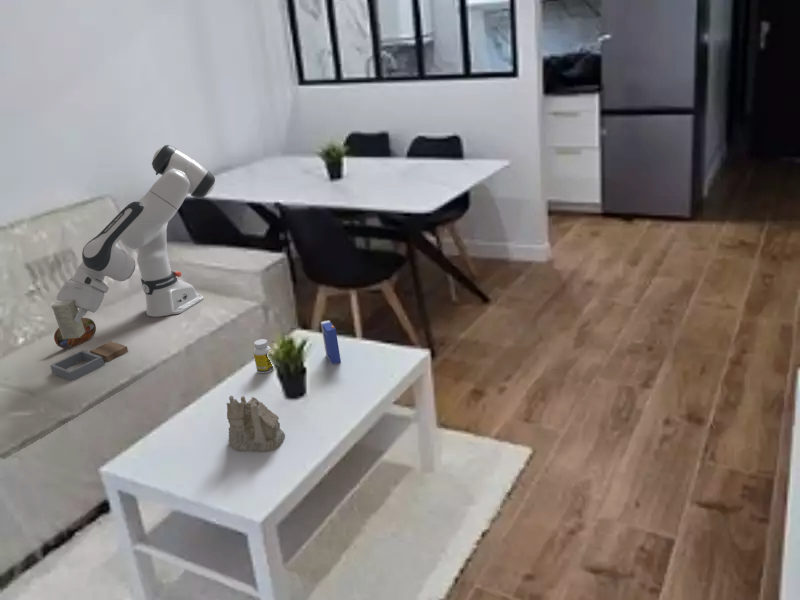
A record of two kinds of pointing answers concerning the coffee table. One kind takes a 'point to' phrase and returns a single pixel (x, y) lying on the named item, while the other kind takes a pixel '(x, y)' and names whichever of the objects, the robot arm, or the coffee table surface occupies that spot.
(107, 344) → the riser
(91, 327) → the tin
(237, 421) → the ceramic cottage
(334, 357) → the walkman
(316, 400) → the coffee table surface
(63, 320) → the skincare box
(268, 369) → the supplement bottle
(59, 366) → the bin
